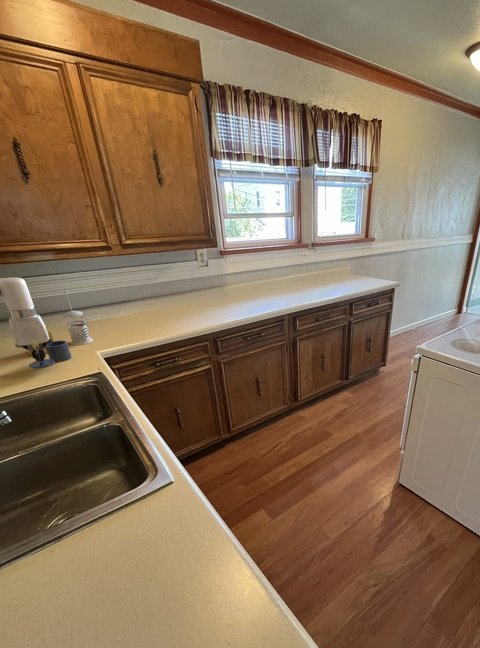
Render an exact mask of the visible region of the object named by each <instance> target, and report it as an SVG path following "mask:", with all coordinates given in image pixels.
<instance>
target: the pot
mask: <svg viewBox="0 0 480 648" xmlns="http://www.w3.org/2000/svg"><path fill="white" fill-rule="evenodd" d="M45 348H46V351H47V353H46V354H47V356H48V359H52V360H54V361H55V363H63V362H66V361H69V360H71V359H72V358H73V357H72V354H71V351H70V347H69V345H68V342H67V341H66V340H55V341H54V342H52V343H50V344H48V345H46V346H45Z"/></svg>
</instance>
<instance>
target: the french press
mask: <svg viewBox="0 0 480 648" xmlns="http://www.w3.org/2000/svg"><path fill="white" fill-rule="evenodd" d="M69 292H70V291H69V290H67V289H65V290H63V294H66V297H67V300H68V304H69V306H70V308H71V310H70V311H67V312H65V313H63V315H62V316H63V317H64V318H74V320H71V321H69V322H67V323H66V324H67V330H68V333H69V336H70V339H71V341H70V345H72V346H81V345H82V346H83V345H86V344H89V343H92V342H93V341H94V339H93V338H92V337H91V335H90V332H89V329H90V328H91V325H89V323H91V320H90V318H89V317H88V316H87V315H86V314H85V315H84V313H83V311H79V310H73V309H72V306H71V305H72V304H71V302H70V299H69V295H68V294H69ZM77 317H80V319H83V318H85V319H87V320H86V323H85V321H84V320H76V318H77Z"/></svg>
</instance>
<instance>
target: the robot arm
mask: <svg viewBox="0 0 480 648" xmlns="http://www.w3.org/2000/svg"><path fill="white" fill-rule="evenodd" d="M2 298H3V300H4V302H5V303H4V304H5V305H6V307H7V310H6V311H3V314H4V316H9V319H8V323H9V327H10V331H11V334H12V337H13V340H14V343H15V348H19V349H25V350H27V351H28V352H29V351H30V352H31V354H32V359H33V360H35V361H38V358H37V357H36V355H35V353H36V350H35V349H34V348H33V346H32V344H38V345H39V353H40V357H41V359H42V360H44V359H45V358H46V354H45V352H44V348H45V346H46V345H48V344H50V343H52V342H53V340H52V339H51V338H50V336H49V334H48V331H47V329H46V323H44V321H43V318H42V317H41V315H40V314H37V313H38V312H37V311H36V308H35V305H34V301H33V299H32V296H31V294H30V290H29V288H28V285H27V282H26V281H25V279H23V278H22V277H17V276H16V277H13V276H11V277H0V299H2Z"/></svg>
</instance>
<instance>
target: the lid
mask: <svg viewBox="0 0 480 648" xmlns="http://www.w3.org/2000/svg"><path fill="white" fill-rule="evenodd" d="M35 355H36V357H37V358H38V361H36V360H35V361H32V362H31V363H29V364H28V367H29V368H30V369H45V368H47V367H50V366H53V365H54V364H55V363H56V362H55V361H54V360H52V359H50V358H44V360H42V359H41V357H40V353H39V349H36V353H35Z"/></svg>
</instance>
